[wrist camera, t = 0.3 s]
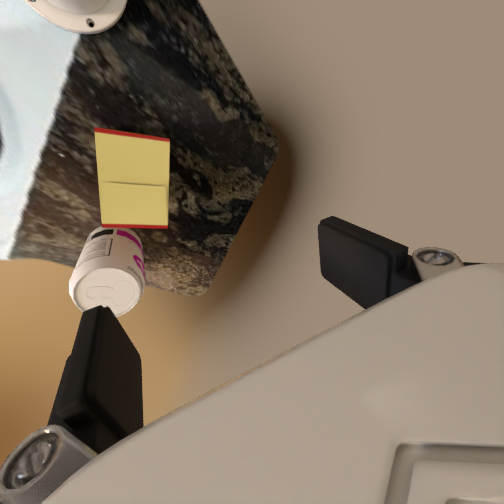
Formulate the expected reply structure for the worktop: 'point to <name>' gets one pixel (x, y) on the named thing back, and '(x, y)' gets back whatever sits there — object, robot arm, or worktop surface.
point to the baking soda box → (132, 179)
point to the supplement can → (109, 271)
